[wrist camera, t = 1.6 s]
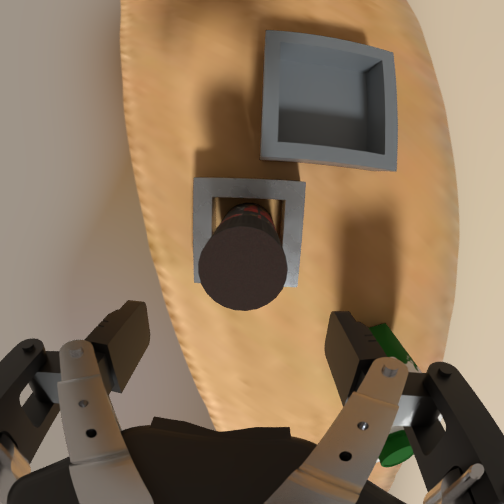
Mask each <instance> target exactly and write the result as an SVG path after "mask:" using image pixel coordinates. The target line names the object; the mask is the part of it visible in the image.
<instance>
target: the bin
mask: <svg viewBox="0 0 504 504" xmlns="http://www.w3.org/2000/svg"><path fill="white" fill-rule="evenodd" d="M397 143H398V118H397V91H396V76H395V65H394V56H393V52H389V51H386V50H383V49H379V48H375V47H372V46H368V45H364V44H360V43H356V42H351V41H346V40H342V39H337V38H331V37H325V36H319V35H312V34H305V33H297V32H287V31H274V30H266V34H265V48H264V69H263V94H262V118H261V142H260V160H270V161H286V162H300V163H311V164H322V165H331V166H340V167H348V168H356V169H363V170H370V171H396V170H397Z"/></svg>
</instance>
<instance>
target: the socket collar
mask: <svg viewBox="0 0 504 504" xmlns="http://www.w3.org/2000/svg"><path fill="white" fill-rule="evenodd" d="M305 187H306V182H302V181H289V180H273V179H252V178H217V177H197V178H194V187H193V258H194V283H201V281H200V278H199V274H198V261H199V258H200V254H201V251H202V250H203V248H204V247H205V245H206V243H207V242H208V240H209V239H210V237H211V236H212V235H213V233H214V232H215V230H216V201H217V197H233V198H259V199H279V200H282V212H281V229H280V242H281V245H282V248H283V250H284V253H285V256H286V260H287V266H288V271H287V279H286V282H285V284H284V287H297V284H298V274H299V264H300V253H301V242H302V230H303V217H304V203H305Z"/></svg>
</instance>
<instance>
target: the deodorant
mask: <svg viewBox="0 0 504 504" xmlns="http://www.w3.org/2000/svg"><path fill="white" fill-rule="evenodd" d="M287 271H288V266H287V260H286V256H285V253H284V250H283V248H282V245H281V242H280V239H279V237H278V234H277V231H276V229H275V226H274V223H273V221H272V218H271V216H270V214H269V213H268V212H267V211H266V210H265V209H264V208H263V207H261V206H260V205H257V204H254V203H243V204H239V205H237V206H235V207H233V208H232V209H231V210H230V211H229V212H228V213H227V215H226V216H225V218H224V219H223V220H222V222H221V223H220V225H219V226H218V228H217V229H216V230H215V232H214V233H213V235H212V236H211V237H210V239H209V240H208V242H207V243H206V245H205V247H204V248H203V250H202V251H201V254H200V258H199V261H198V274H199V278H200V281H201V284H202V286H203V288H204V289H205V291H206V293H207V294H208V295H209V296H210V297H211V298H212V299H213V300H214V301H215V302H217V303H219V304H220V305H222V306H224V307H227V308H230V309H233V310H242V311H248V310H253V309H258V308H260V307H262V306H265V305H267V304H268V303H270V302H271V301H272V300H274V299H275V298H276V297H277V296H278V294H279V293H280V292H281V290H282V289H283V287H284V284H285V282H286V279H287Z"/></svg>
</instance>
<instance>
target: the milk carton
mask: <svg viewBox="0 0 504 504" xmlns="http://www.w3.org/2000/svg"><path fill="white" fill-rule="evenodd" d="M369 330H370V331H371V332H372V334H373V336H374V337H375V338H376V341H378V343H379V344H380V346H381V347H382V349H383V350H384V352H385V354H386V355H387V357H391V358H395V359H398V360H400V361H401V362H403V363H404V364H405V365H406V366H407V368H408V371H409V372H416V373H422V372H421V371H420V369H419V368H418V366H417V365H416V364H415V362H414V361H413V360H412V358H411V357H410V356H409V354H408V353H407V352H406V350H405V349H404V348H403V346H402V345H401V343H400V342H399V341H398V339H397V338H396V336H395V335H394V334H393V332H392V331H391V330H390V328H389V327H388V326H387V324H386V323H384V324H380V325H377V326H374V327H370V328H369ZM438 419H439V421H440V422H441V420H442V415H441V414H440V415H439V417H438ZM413 454H414V453H413V450H412V448H411V445H410V442H409V440H408V437H407V435H406V433H405V430H404V428H403V426H393V425H392V427H391V430H390V432H389V435H388V437H387V440H386V442H385V444H384V446H383V449H382V451H381V453H380V455H379V457H378V459H377V461H376V462H380V463H381V465H382V466H383V467H392V466H395V465H398V464H400V463H402V462H404V461H406V460H407V459H409V458H410V457H411V456H412V455H413Z"/></svg>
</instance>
